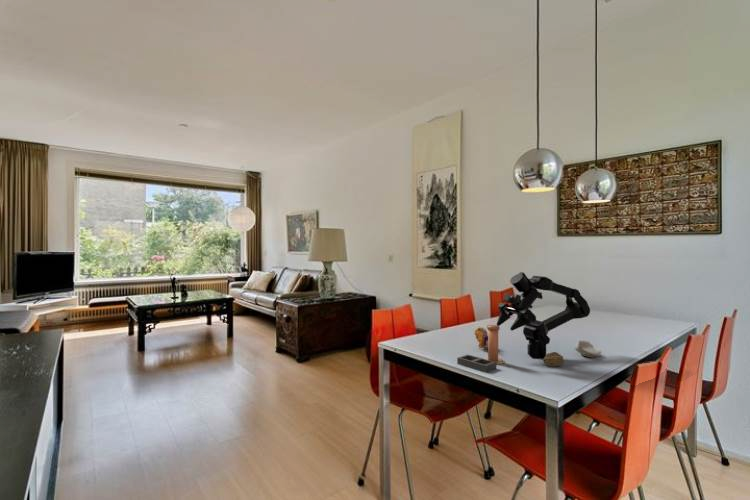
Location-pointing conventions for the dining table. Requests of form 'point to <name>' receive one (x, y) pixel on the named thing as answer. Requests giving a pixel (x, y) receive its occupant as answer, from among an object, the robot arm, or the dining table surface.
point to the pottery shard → (587, 349)
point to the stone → (553, 359)
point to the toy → (481, 337)
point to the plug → (493, 342)
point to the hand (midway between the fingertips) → (503, 327)
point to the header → (476, 363)
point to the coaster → (498, 361)
